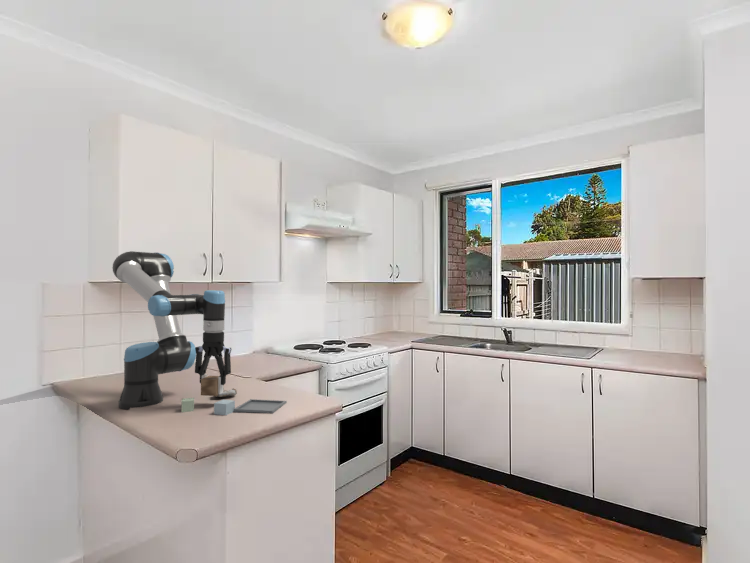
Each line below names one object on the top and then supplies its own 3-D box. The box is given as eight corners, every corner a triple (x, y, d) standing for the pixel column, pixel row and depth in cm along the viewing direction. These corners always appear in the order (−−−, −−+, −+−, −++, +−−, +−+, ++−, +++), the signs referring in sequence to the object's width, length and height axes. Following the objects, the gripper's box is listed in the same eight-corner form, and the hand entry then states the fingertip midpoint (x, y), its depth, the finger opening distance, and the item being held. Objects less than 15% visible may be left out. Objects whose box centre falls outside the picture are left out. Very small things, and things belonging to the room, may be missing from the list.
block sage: (181, 412, 156) (181, 401, 156) (182, 409, 160) (182, 398, 160) (193, 411, 158) (193, 400, 158) (194, 408, 162) (194, 397, 162)
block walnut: (200, 395, 163) (200, 379, 163) (209, 391, 169) (209, 375, 169) (215, 396, 162) (215, 379, 162) (223, 392, 168) (224, 376, 168)
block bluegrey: (214, 414, 154) (214, 403, 154) (222, 410, 159) (222, 399, 159) (226, 415, 153) (226, 404, 153) (234, 411, 158) (234, 400, 158)
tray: (233, 412, 156) (233, 408, 156) (250, 402, 170) (250, 399, 170) (272, 414, 154) (272, 410, 154) (286, 404, 167) (286, 400, 167)
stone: (212, 399, 172) (212, 392, 172) (210, 396, 178) (210, 390, 179) (237, 396, 176) (237, 389, 176) (235, 393, 182) (235, 387, 183)
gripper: (184, 331, 163) (183, 393, 163) (232, 333, 160) (231, 396, 160) (196, 329, 170) (194, 388, 171) (241, 331, 167) (240, 391, 167)
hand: (212, 392), depth 165 cm, fingers closed on block walnut, 6 cm apart
